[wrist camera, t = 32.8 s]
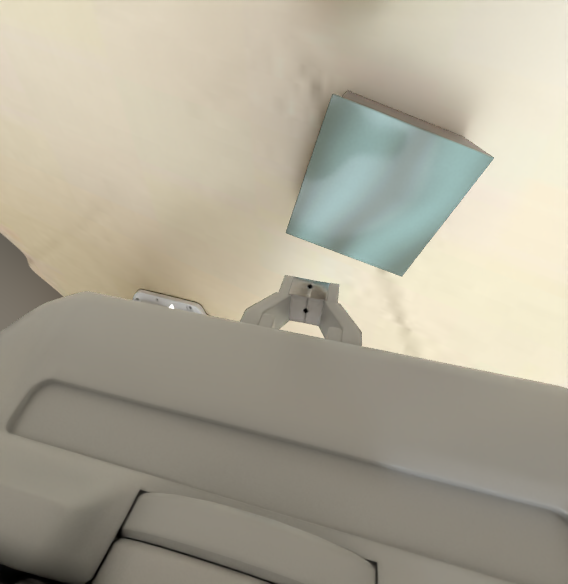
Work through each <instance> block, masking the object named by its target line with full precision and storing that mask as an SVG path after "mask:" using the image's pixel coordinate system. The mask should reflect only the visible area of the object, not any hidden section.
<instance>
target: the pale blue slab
mask: <svg viewBox="0 0 568 584" xmlns="http://www.w3.org/2000/svg"><path fill="white" fill-rule="evenodd" d="M493 159H494V157H492V156H490V155H487V154H485V153H482V152H480V151H477V150H475V149H472V148H470V147H467V146H465V145H462V144H460V143H457V142H455V141H452V140H450V139H447V138H445V137H442V136H439V135H437V134H434V133H432V132H429V131H427V130H424V129H422V128H419V127H417V126H414V125H412V124H409V123H407V122H404V121H402V120H399V119H397V118H394V117H392V116H389V115H387V114H384V113H382V112H379V111H377V110H374V109H372V108H369V107H366V106H364V105H361V104H359V103H356V102H354V101H351V100H349V99H346V98H344V97H341V96H339V95H336V94H332V97H331V100H330V102H329V105H328V108H327V111H326V114H325V117H324V120H323V123H322V126H321V129H320V132H319V135H318V138H317V141H316V144H315V147H314V150H313V153H312V156H311V159H310V162H309V165H308V168H307V171H306V174H305V177H304V180H303V183H302V186H301V189H300V192H299V195H298V197H297V200H296V203H295V206H294V209H293V212H292V215H291V218H290V221H289V224H288V227H287V230H286V233H287V234H290V235H293V236H295V237H298V238H301V239H303V240H306V241H308V242H311V243H314V244H316V245H319V246H322V247H324V248H327V249H330V250H332V251H335V252H338V253H340V254H343V255H346V256H348V257H351V258H354V259H356V260H359V261H362V262H364V263H367V264H370V265H372V266H375V267H378V268H380V269H383V270H386V271H388V272H391V273H394V274H396V275H399V276H403V274H404V273H405V272H406V271H407V269H408V268H409V267H410V265H411V264H412V263H413V262H414V260H415V259H416V258H417V256H418V255H419V254H420V253H421V251H422V250H423V249H424V247H425V246H426V245H427V244H428V242H429V241H430V240H431V238H432V237H433V236H434V235H435V233H436V232H437V231H438V229H439V228H440V227H441V226H442V224H443V223H444V222H445V220H446V219H447V218H448V217H449V215H450V214H451V213H452V211H453V210H454V209H455V208H456V206H457V205H458V204H459V203H460V201H461V200H462V199H463V197H464V196H465V195H466V194H467V192H468V191H469V190H470V188H471V187H472V186H473V185H474V183H475V182H476V181H477V179H478V178H479V177H480V176H481V174H482V173H483V172H484V170H485V169H486V168H487V167H488V165H489V164H490V163H491V161H492V160H493Z"/></svg>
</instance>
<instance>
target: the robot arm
mask: <svg viewBox="0 0 568 584" xmlns="http://www.w3.org/2000/svg"><path fill="white" fill-rule="evenodd" d="M338 294H339V284H334V283H326V282H320V281H314V280H309V279H304V278H299V277H293V276H288V275H285V276H284V279H283V282H282V284H281V287H280V290H279V292H275V293H274V294H272V295H270V296H268V297H267V298H265V299H263V300H261V301H260V302H258V303H256V304H254V305H253V306H251V307H249V308H247V309H246V310H245V312H244V314H243V316H242V318H241V320H240V322H239V321H234V320H229V319H224V318H219V317H214V316H209V315H207V314H206V313H205V311H204V309H203V308H202V307H201V305H200V304H198V303H195V302H191V301H187V300H183V299H179V298H175V297H171V296H167V295H162V294H158V293H154V292H150V291H146V290H141V289H140V290H138V291H137V292H136V293H135V295H134V297H133V300H129V299H124V298H119V297H114V296H109V295H105V294H100V293H96V292H88V291H85V292H80V293H76V294H72V295H68V296H65V297H62V298H59V299H56V300H53V301H49V302H47V303H44V304H43V305H41V306H39V307H37V308H35V309H34V310H32V311H30V312H29V313H27V314H26V315H24V316H23V317H21V318H20V319H18V320H17V321H15V322H14V323H12V324H11V325H9V326H8V327H6V328H5V329H3V330H2V331H1V332H0V584H568V389H567V388H564V387H561V386H557V385H552V384H547V383H542V382H537V381H532V380H527V379H522V378H517V377H512V376H507V375H502V374H497V373H492V372H487V371H482V370H477V369H472V368H467V367H462V366H457V365H452V364H447V363H442V362H437V361H432V360H427V359H422V358H418V357H413V356H408V355H403V354H398V353H393V352H388V351H383V350H378V349H373V348H368V347H363V346H362V332H361V330H360V329H359V328H358V327H357V325H356V324H355V323H354V321H353V320H352V319H351V317H350V316H349V315H348V313H347V312H346V311H345V310H344V308H343V307H342V306H341V304H338ZM289 320H291V321H297V322H303V323H307V324H312V325H316V326H319V328H320V330H321V332H322V334H323V336H324V338H325V339H323V338H318V337H313V336H308V335H303V334H298V333H293V332H288V331H283V330H279V329H280V328H281V327H282V326H283V325H285V324H286V323H287V322H288V321H289Z"/></svg>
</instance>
